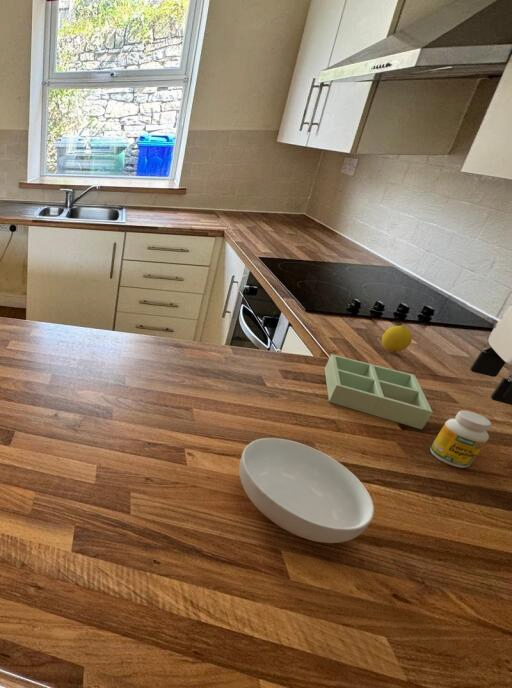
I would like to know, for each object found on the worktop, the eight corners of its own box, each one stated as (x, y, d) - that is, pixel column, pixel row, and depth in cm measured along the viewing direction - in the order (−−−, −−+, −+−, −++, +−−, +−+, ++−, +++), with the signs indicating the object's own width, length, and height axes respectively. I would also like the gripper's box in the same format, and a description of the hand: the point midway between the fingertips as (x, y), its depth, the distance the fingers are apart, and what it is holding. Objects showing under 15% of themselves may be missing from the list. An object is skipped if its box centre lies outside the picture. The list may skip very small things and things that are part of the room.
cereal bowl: (213, 464, 72) (223, 435, 69) (306, 468, 72) (321, 438, 69) (267, 558, 57) (283, 525, 54) (385, 563, 57) (408, 530, 54)
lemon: (386, 355, 107) (399, 329, 104) (372, 345, 112) (384, 320, 109) (409, 358, 107) (423, 331, 103) (394, 347, 111) (407, 322, 108)
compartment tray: (405, 391, 93) (414, 374, 91) (422, 429, 82) (432, 412, 80) (324, 369, 101) (331, 353, 99) (328, 401, 89) (336, 385, 87)
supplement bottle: (458, 451, 76) (485, 412, 72) (476, 472, 72) (506, 431, 68) (422, 443, 78) (447, 404, 74) (437, 463, 74) (464, 423, 70)
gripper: (631, 324, 52) (550, 425, 60) (563, 284, 66) (504, 371, 73) (546, 309, 56) (479, 405, 64) (497, 274, 69) (447, 357, 77)
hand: (492, 387), depth 68 cm, fingers open, 9 cm apart
